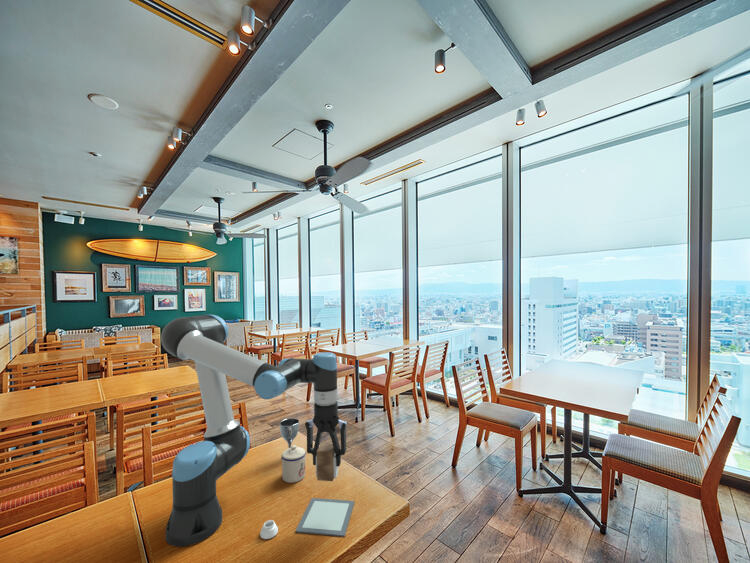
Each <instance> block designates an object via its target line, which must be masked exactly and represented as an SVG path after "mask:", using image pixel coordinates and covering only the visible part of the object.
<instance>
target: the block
mask: <svg viewBox="0 0 750 563" xmlns="http://www.w3.org/2000/svg"><path fill="white" fill-rule="evenodd" d="M334 455H335V451H334V448H333V444H332V443H321V442H320V445H319V448H318V450H317V477H316V480H317V481H322V482H323V481H324V482H334V479H335V478H334V467H333V457H334Z"/></svg>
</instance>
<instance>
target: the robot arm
mask: <svg viewBox="0 0 750 563" xmlns="http://www.w3.org/2000/svg"><path fill="white" fill-rule="evenodd" d="M227 337H229V327H228V325H227V322H226V321H225V320H224V319H223V318H222V317H220V316H218V315H217V314H216V315H215V314H202V315H201V314H200V315H193V316H185V317H184V316H183V317H182V316H181V317H177V318H175V319H173V320H171V321H169V322H168V323H167V324H165V326H164V327H163V328H162V331H161V334H160V342H161V345H162V347H163V349H164V350H165V351H166V352H168V354H170V355H172V356H173V357H175V358H178V359H180V360H182V361H186V360H192V361H194V366H195V369H196V370H195V371H196V376H197V381H198V386H199V390H200V396H201V402H202V407H203V412H204V417H205V423H206V430H205V433H203V439H204V440H201V441H197V442H195V443H191V444H189V445H187V446H185V447H184V448H182V449H181V450H180V451H178V453H177V454H176V455H175V457H174V458H173V462H172V470H171V477H172V478H171V480H172V509H171V512H170V515H169V518H168V520H167V524H166V526H165V542H166V544H168V545H170V546H172V547H176V548H177V547H179V548H180V547H181V548H182V547H183V548H184V547H188V546H192V545H195V544H198V543H200V542H203V541H205V540H206V539H208V538H209V537H210V536H212V535H213V534H214V533H215V532H216V531H217V530H219V528H220V526H221V525H222V523H223V508H222V506H221V504H220V503H219V499H218V496H217V480H219V479H220V478H221V477H222V476H224V474H226V473H228V472H229V471H230V470H231V469H232V468H233V467H235V466H236V465H238V464H239V463H240V462H242V460H243V459H245V457H246V456H247V455H248V453H249V450H250V446H251V437H250V434H249V431H247V430H246V428H245V427H244V426H241V424H240V421H238V420H236V419H235V417H234V411H233V407H232V403H231V397H230V392H229V391H230V390H229V387H228V382H227V381H228V380H227V377H226V376H228V377H231V378H233V379H235V380H237V381H239V382H241V383H244V384H246V385H249V386H251V387H253V388H254V391H255V393H256V394H257V396H258V397H259V398H261V399H263V400H272V399H274V398H277V397H279V396H281V395H282V394H283V393H285V392H286V391H288V390H289V389H291V388H292V387H295V386H296V385H298V384H300V383H303V384H313V402H314V404H313V415H314V416H313V419H307V420H306V421H305V423H304V425H305V428H306V453H307V454H311V455H312V464H313V466H315V476H316V477H315V478H317V450H318V448H319V447H320V445H321V440H322V436H323V433H328V435H329V437H330V440H331V442H332V443H331V444H333V448H334V451H335V455H334V457H333V467H334V479H337V478H338V475H339V467H340V465H341V463H342V461H341V460H342V456H344V455H345V454H346V452H347V430H346V428H347V425H348V421H347V420H345V419H344V420H342V419H340V417H339V410H338V409H339V406H338V405H339V404H338V399H339V397H338V362H337V355H336V354H335V353H333V352H317V353H315V354H313V357H312V358H311V359H309V358H295V357H290V358H283V359H281V360H280V361H279V363H278V364H277V365H273V364H271V363H269V362H266V361H263V360H261V359H259V358H257V357H254V356H251V355H249V354H247V353H244V352H241V351H240V350H237V349H234V348H232V347H230V346H227V345H225V342H226V340H227ZM314 426H315V428H317V431H316V437H315V440H314ZM337 426H338V427H339V429H340V433H339V434H340V435H339V436H340V442H339V438H338V435H337V428H336V427H337Z"/></svg>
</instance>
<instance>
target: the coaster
mask: <svg viewBox="0 0 750 563" xmlns="http://www.w3.org/2000/svg"><path fill="white" fill-rule="evenodd" d="M354 505H355V500H346V499H333V498H321V497H320V498H319V497H318V498H317V497H311V499H310V501H309V503H308V504H307V507H306V509H305V510H304V512H303V514H302V516H301V519H300V520H299V523H298V524H297V527H296V528H295V533H299V534H311V535H323V536H334V537H335V536H336V537H346V533H347V530H348V526H349V523H350V520H351V519H350V518H351V517H352V516H351V515H352V512H353V509H354Z"/></svg>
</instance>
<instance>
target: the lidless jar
mask: <svg viewBox="0 0 750 563" xmlns="http://www.w3.org/2000/svg"><path fill="white" fill-rule="evenodd" d="M278 531H279V528H278V526H277V524H276V523H275V521H274V520H272V519H269V520H266V521H265V522H264V524H262V527H261V529H260V531H259V536H260V538H261V539H263V540H268V539H269V540H270V539H272V538H274V537H275V536H276V535H277V534H278Z"/></svg>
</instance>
